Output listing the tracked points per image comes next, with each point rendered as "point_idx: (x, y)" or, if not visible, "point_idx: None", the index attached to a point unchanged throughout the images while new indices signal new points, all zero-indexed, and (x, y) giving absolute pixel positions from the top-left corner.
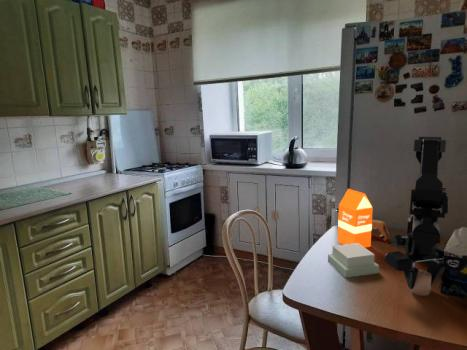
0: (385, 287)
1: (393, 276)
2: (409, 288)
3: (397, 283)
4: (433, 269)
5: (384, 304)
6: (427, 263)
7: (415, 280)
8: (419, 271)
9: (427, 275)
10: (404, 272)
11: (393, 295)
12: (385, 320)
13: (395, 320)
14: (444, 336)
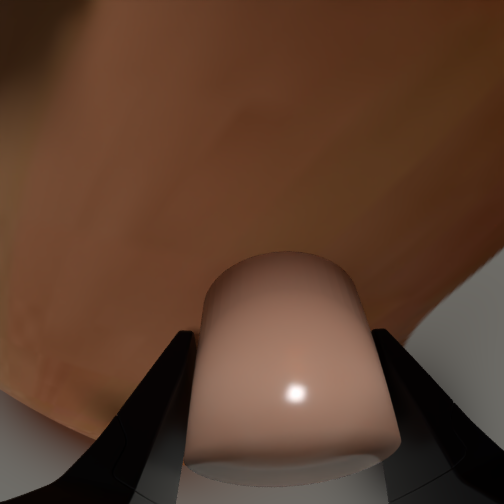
0: (30, 218)
1: (222, 13)
2: (205, 302)
3: (162, 175)
4: (412, 494)
5: (10, 345)
6: (466, 492)
7: (181, 457)
8: (330, 448)
9: (323, 475)
10: (95, 458)
11: (58, 312)
12: (14, 390)
13: (41, 402)
14: None
